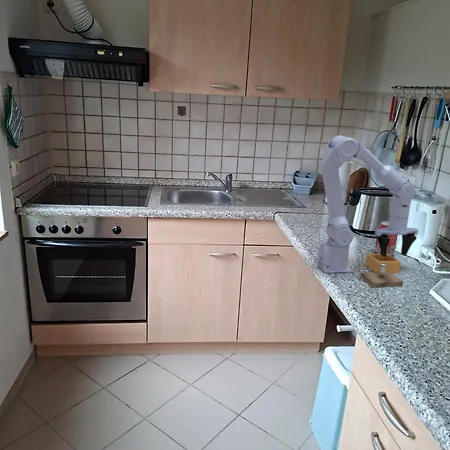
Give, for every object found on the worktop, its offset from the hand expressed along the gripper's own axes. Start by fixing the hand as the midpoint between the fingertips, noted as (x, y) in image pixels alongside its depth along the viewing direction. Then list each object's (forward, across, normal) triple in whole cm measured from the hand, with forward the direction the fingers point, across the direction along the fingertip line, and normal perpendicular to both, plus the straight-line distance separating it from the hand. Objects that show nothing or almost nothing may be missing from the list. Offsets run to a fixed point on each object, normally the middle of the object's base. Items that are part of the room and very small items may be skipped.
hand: (393, 255), depth 142 cm
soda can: (+5, +5, +14) cm, 16 cm away
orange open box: (+5, -4, 0) cm, 6 cm away
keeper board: (+5, -10, -10) cm, 15 cm away
